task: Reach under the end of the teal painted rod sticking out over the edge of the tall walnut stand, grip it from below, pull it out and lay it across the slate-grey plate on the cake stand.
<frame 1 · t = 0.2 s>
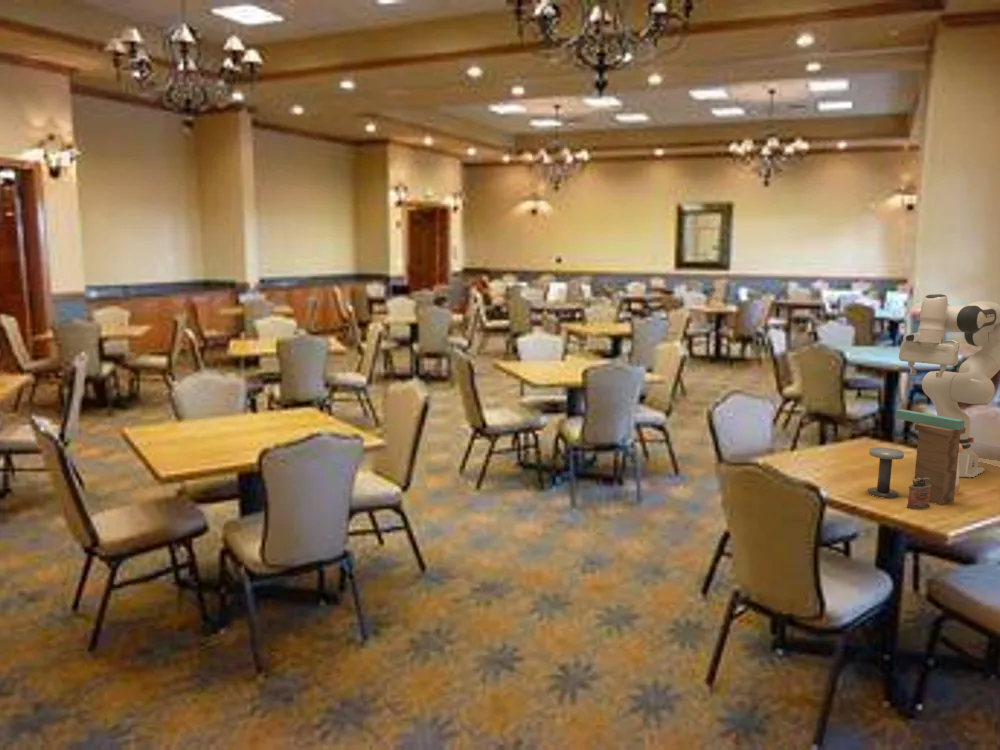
hand: (925, 376, 307), 40 cm above the table, tool pointing down, fingers open, 8 cm apart
rod: (928, 423, 290), point 26 cm above the table, touching tall stand
lighter: (918, 507, 281), on the table
cake stand: (882, 494, 296), on the table
salt shaker: (946, 492, 299), on the table
tall stand: (933, 499, 290), on the table
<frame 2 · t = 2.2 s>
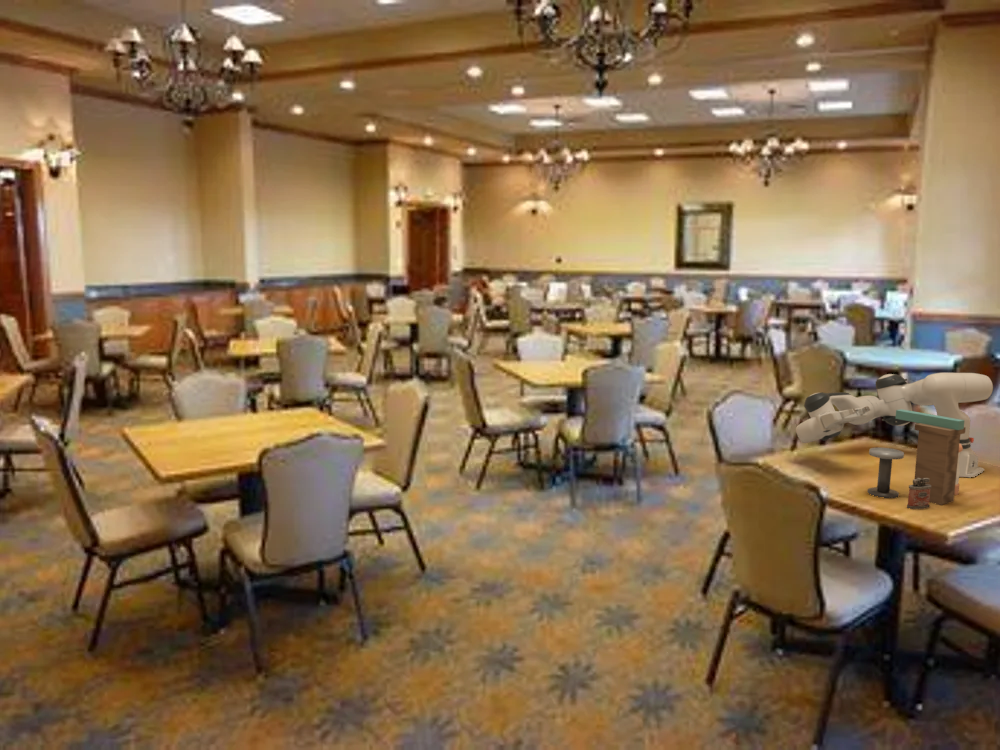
hand: (861, 409, 313), 26 cm above the table, tool pointing upward, fingers open, 8 cm apart
nothing on the table moved.
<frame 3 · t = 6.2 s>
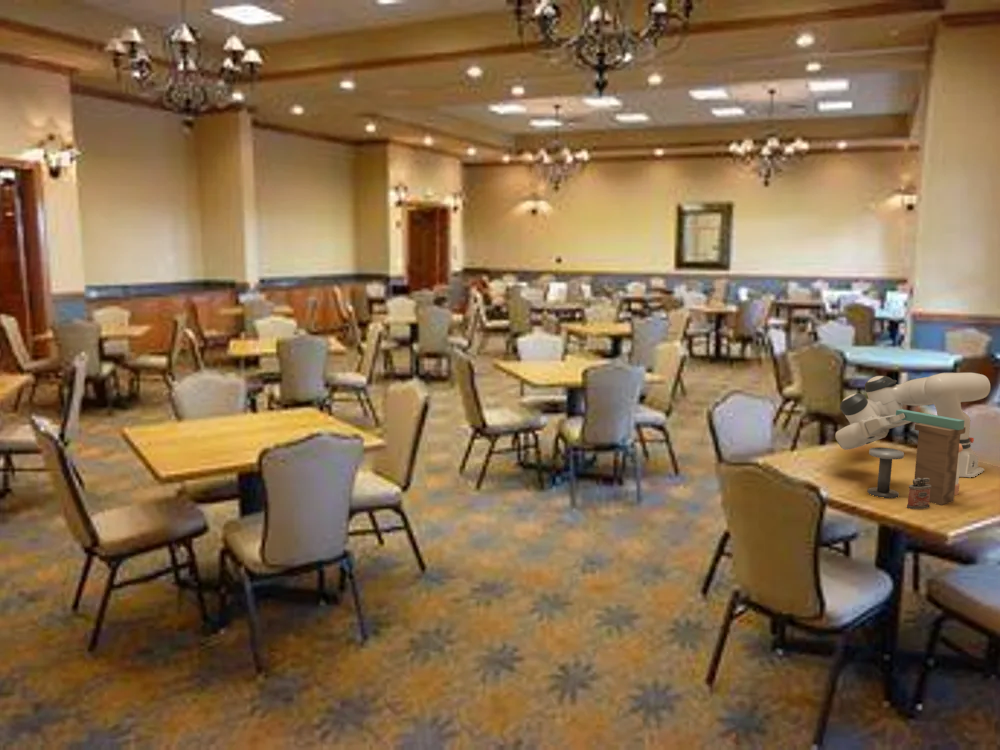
hand: (908, 414, 295), 28 cm above the table, tool pointing upward, fingers closed on rod, 3 cm apart
rod: (928, 423, 290), point 26 cm above the table, touching gripper
everything else where it was.
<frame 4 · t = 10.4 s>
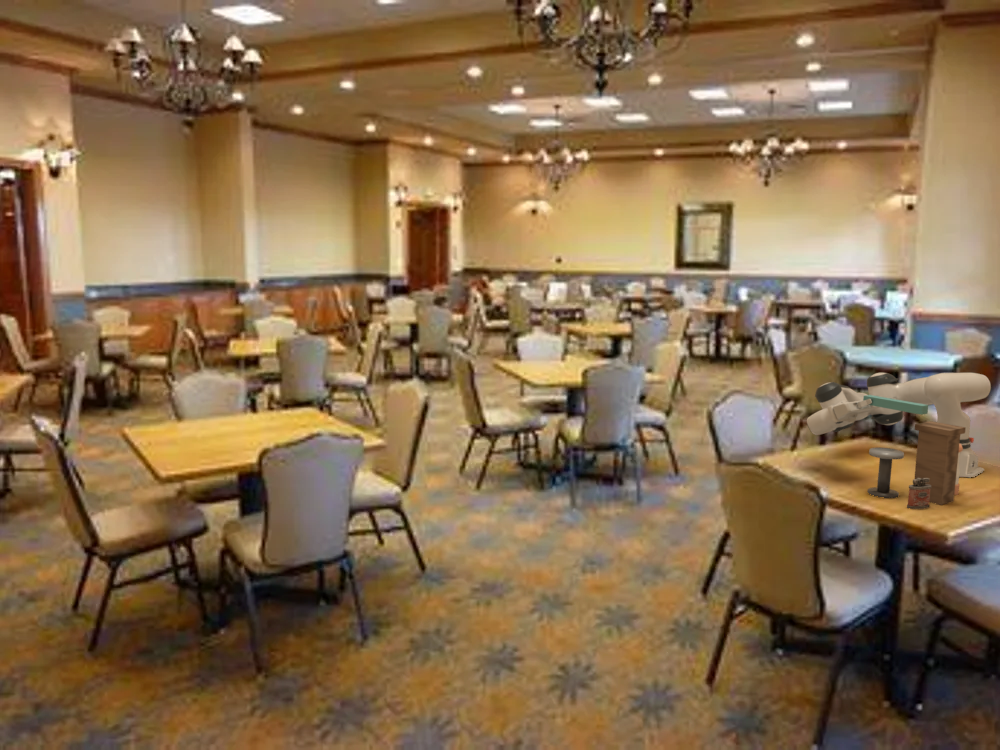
hand: (875, 399, 302), 32 cm above the table, tool pointing upward, fingers closed on rod, 3 cm apart
rod: (894, 408, 296), point 30 cm above the table, touching gripper
everything else where it was.
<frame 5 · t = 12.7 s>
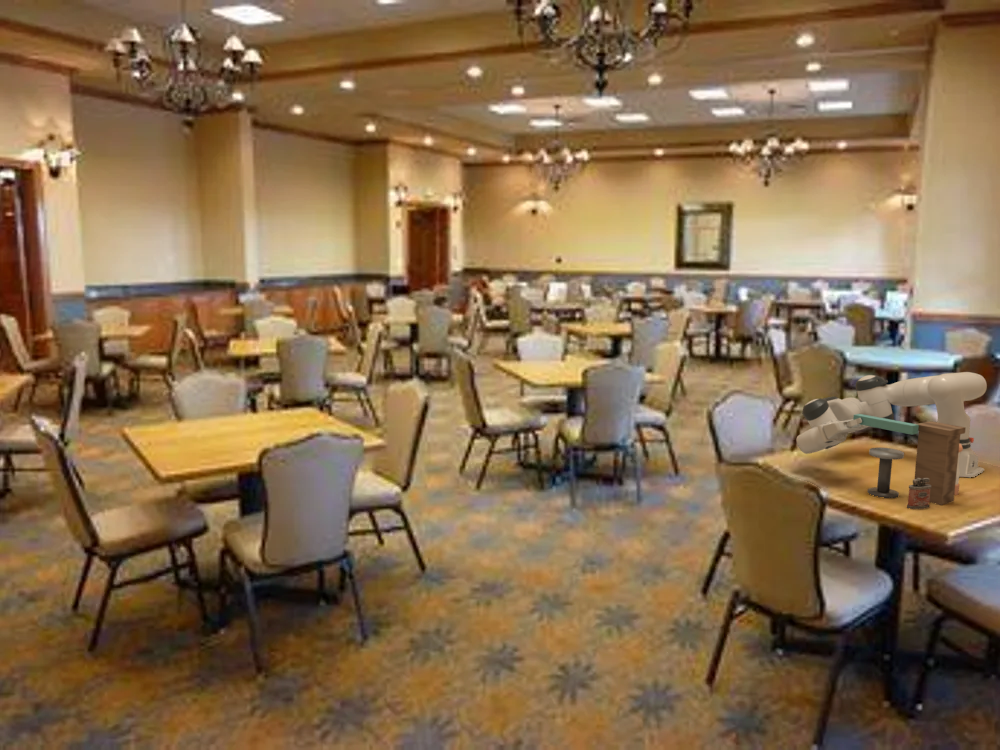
hand: (866, 419, 298), 25 cm above the table, tool pointing upward, fingers closed on rod, 3 cm apart
rod: (884, 428, 293), point 24 cm above the table, touching gripper
everything else where it was.
when the fingers open (19 cm above the table, at t = 14.5 s): rod drops 2 cm, resting on cake stand.
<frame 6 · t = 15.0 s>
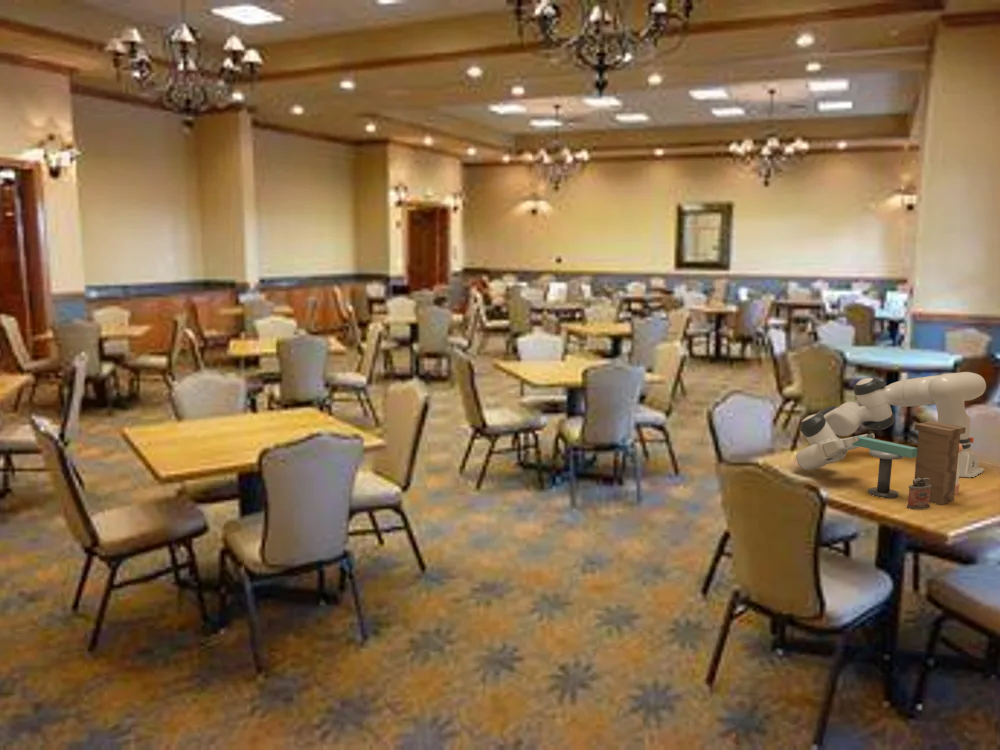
hand: (865, 437, 300), 19 cm above the table, tool pointing upward, fingers open, 8 cm apart
rod: (883, 450, 294), point 15 cm above the table, touching cake stand
everything else where it was.
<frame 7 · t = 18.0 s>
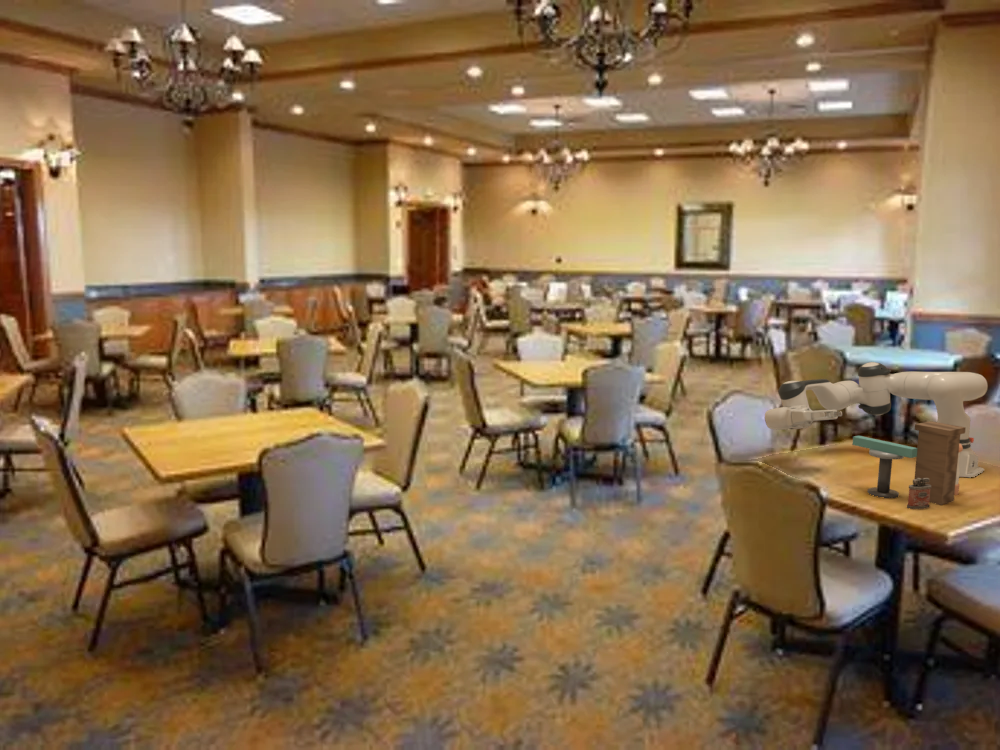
hand: (833, 414, 311), 25 cm above the table, tool horizontal, fingers open, 8 cm apart
nothing on the table moved.
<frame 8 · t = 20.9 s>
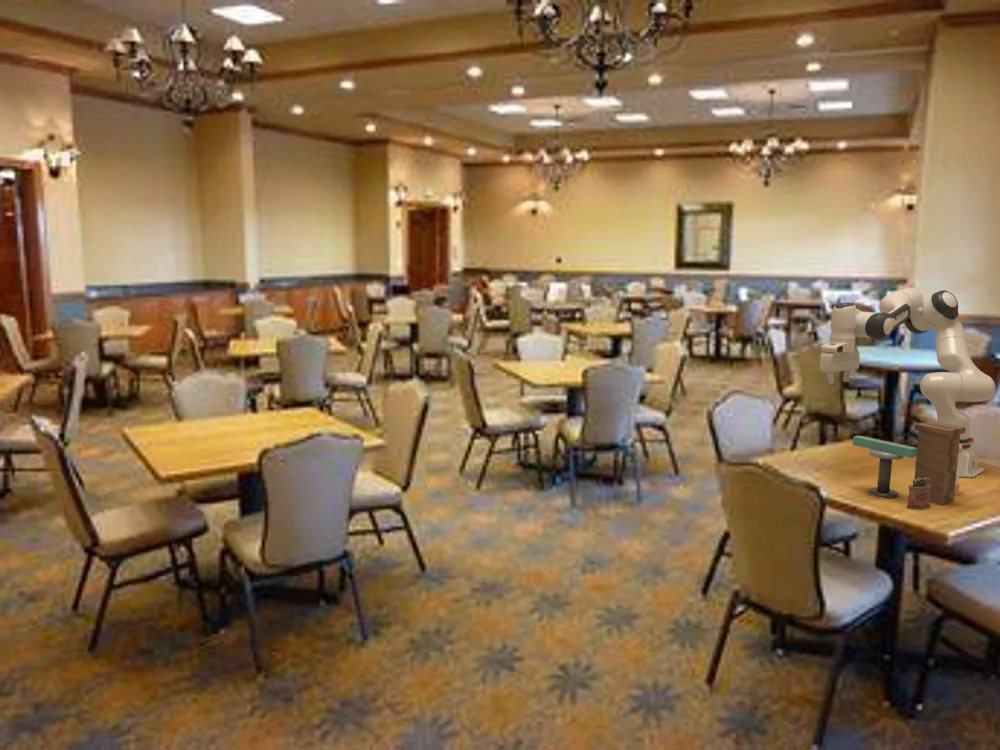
hand: (838, 382, 318), 35 cm above the table, tool pointing down, fingers open, 8 cm apart
nothing on the table moved.
at the end: rod inside the target area on the cake stand (1.1 cm from its centre), point 15.5 cm above the cake stand's base; the gripper is holding nothing; rod tilted 0° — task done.
